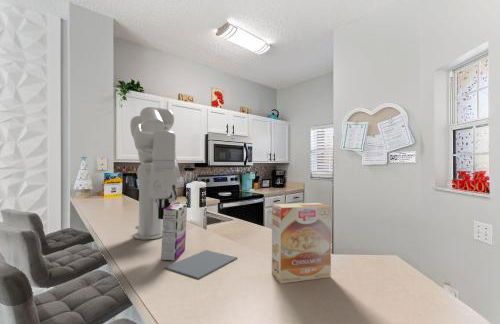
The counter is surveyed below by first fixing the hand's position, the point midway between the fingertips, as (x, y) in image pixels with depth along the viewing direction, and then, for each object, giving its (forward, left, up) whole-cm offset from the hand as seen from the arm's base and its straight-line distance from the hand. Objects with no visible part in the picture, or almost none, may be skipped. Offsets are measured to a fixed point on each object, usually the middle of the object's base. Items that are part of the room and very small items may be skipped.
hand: (163, 218), depth 87 cm
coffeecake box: (+47, +8, -12) cm, 49 cm away
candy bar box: (+5, 0, -12) cm, 13 cm away
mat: (+18, 0, -12) cm, 22 cm away
